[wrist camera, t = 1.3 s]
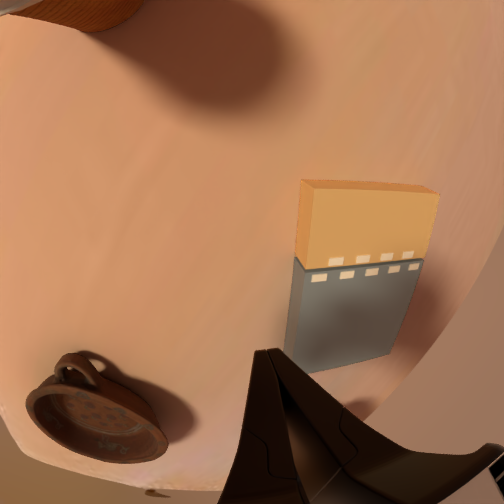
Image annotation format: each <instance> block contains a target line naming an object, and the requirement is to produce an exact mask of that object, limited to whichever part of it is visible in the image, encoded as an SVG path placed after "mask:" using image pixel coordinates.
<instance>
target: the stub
mask: <svg viewBox="0 0 504 504" xmlns="http://www.w3.org/2000/svg"><path fill="white" fill-rule="evenodd" d="M439 196H440V194H438V193H436V192H434V191H432V190H430V189H428V188H425V187H423V186H418V185H406V184H393V183H378V182H360V181H336V180H301V190H300V203H299V215H298V226H297V237H296V248H295V255H296V256H297V258H298V259H299V261H300V262H301V264H302V265H303V267H304V268H305V270H306V269H317V268H328V267H338V266H349V265H359V264H369V263H379V262H388V261H398V260H407V259H416V258H425V255H426V251H427V247H428V244H429V240H430V236H431V232H432V228H433V224H434V220H435V215H436V211H437V206H438V201H439Z"/></svg>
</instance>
